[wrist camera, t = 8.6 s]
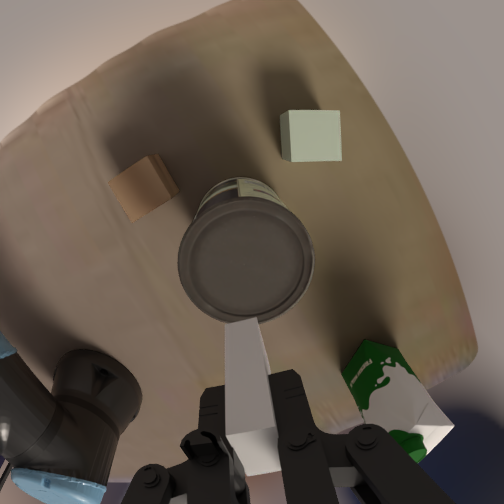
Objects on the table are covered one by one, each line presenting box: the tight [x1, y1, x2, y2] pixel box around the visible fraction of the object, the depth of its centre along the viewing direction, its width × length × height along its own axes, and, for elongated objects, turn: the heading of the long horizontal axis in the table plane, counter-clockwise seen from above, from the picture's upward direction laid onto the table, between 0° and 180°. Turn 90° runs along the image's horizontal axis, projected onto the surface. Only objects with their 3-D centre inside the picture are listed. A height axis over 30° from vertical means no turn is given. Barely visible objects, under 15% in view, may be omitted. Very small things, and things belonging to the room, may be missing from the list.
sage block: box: [280, 110, 342, 162], centre depth 31 cm, size 5×5×6 cm
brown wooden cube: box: [108, 154, 179, 223], centre depth 33 cm, size 5×5×5 cm
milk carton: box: [341, 339, 454, 463], centre depth 36 cm, size 9×9×20 cm
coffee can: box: [178, 177, 315, 324], centre depth 30 cm, size 10×10×14 cm
